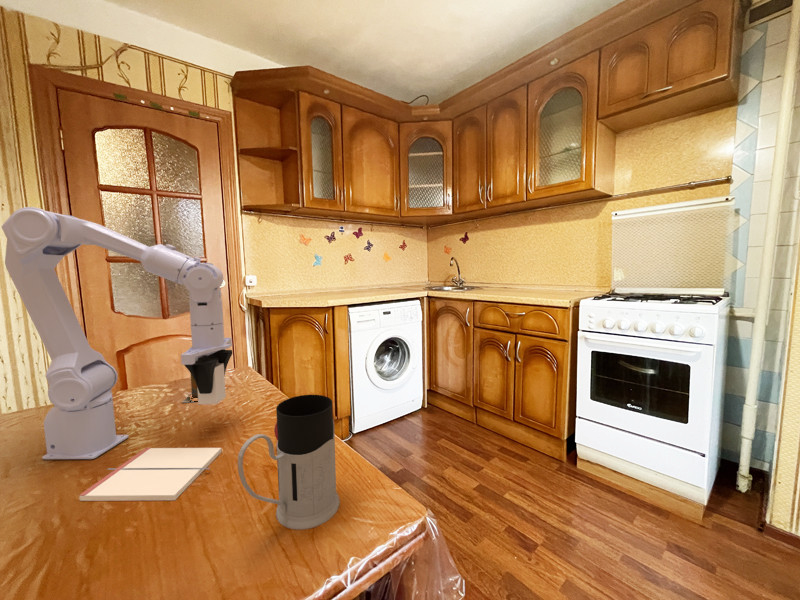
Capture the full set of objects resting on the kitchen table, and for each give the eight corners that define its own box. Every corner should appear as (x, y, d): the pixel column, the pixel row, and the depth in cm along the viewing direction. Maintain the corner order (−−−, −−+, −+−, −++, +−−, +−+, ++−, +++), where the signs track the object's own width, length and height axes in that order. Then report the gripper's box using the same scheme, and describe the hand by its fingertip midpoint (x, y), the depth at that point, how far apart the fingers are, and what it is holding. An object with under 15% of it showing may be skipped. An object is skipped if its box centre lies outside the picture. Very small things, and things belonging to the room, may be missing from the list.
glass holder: (352, 499, 49) (350, 400, 48) (266, 572, 38) (259, 444, 36) (311, 479, 54) (308, 388, 53) (224, 538, 43) (216, 424, 41)
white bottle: (198, 404, 67) (195, 362, 67) (208, 397, 71) (206, 357, 70) (216, 404, 67) (213, 362, 67) (225, 397, 71) (223, 357, 70)
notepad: (69, 500, 50) (69, 495, 49) (138, 452, 62) (137, 447, 62) (184, 500, 49) (184, 494, 49) (229, 451, 62) (229, 447, 62)
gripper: (206, 330, 60) (211, 403, 62) (244, 318, 75) (247, 377, 76) (167, 330, 60) (172, 403, 62) (212, 318, 75) (216, 377, 76)
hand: (211, 389), depth 69 cm, fingers closed on white bottle, 4 cm apart
